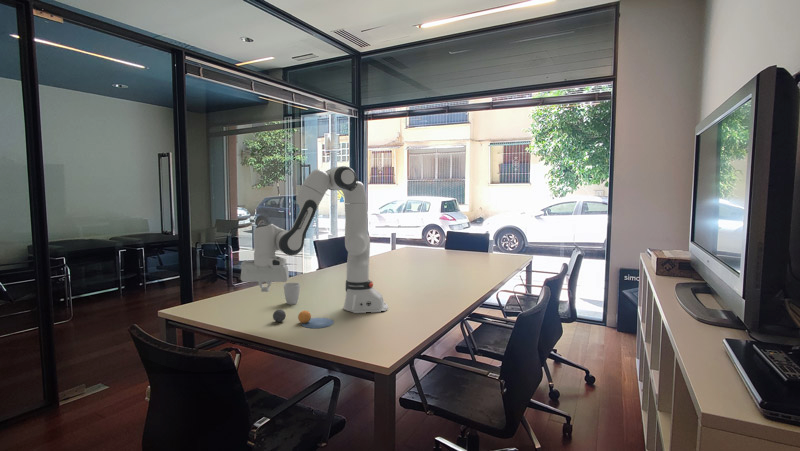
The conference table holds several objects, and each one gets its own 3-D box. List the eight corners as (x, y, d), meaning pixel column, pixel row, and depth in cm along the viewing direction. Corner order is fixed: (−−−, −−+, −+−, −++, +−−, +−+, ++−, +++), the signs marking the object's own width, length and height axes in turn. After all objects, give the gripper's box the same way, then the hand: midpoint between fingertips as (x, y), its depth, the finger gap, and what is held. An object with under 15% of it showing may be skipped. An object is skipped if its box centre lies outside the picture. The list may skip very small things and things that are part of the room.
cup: (303, 302, 208) (302, 283, 208) (294, 306, 201) (294, 286, 200) (289, 300, 211) (289, 282, 210) (280, 304, 203) (280, 285, 203)
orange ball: (297, 315, 177) (306, 323, 177) (294, 319, 171) (304, 327, 172) (304, 306, 176) (314, 314, 177) (302, 310, 171) (312, 317, 171)
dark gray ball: (272, 311, 178) (275, 323, 177) (270, 311, 172) (273, 324, 172) (284, 307, 179) (288, 319, 178) (282, 307, 174) (286, 319, 173)
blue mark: (335, 318, 181) (335, 317, 181) (330, 328, 167) (330, 328, 167) (305, 318, 181) (305, 317, 181) (298, 328, 167) (297, 327, 167)
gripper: (237, 261, 168) (238, 293, 169) (285, 261, 169) (286, 293, 170) (243, 259, 175) (244, 289, 176) (289, 259, 175) (289, 290, 176)
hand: (265, 291), depth 173 cm, fingers closed
